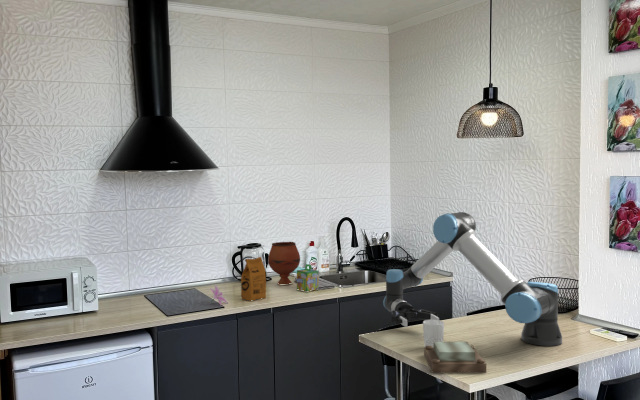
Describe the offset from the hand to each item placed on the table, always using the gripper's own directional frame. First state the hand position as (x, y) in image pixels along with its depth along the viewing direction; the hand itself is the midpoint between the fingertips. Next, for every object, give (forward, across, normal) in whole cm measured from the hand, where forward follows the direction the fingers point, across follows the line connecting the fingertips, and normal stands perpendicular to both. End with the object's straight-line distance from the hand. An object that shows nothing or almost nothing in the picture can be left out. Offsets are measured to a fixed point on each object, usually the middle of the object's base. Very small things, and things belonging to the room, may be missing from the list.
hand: (422, 322), depth 230 cm
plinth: (+28, +1, -7) cm, 29 cm away
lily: (-87, +75, -9) cm, 115 cm away
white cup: (+10, 0, -7) cm, 12 cm away
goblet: (-130, +32, -9) cm, 134 cm away
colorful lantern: (-108, +23, -8) cm, 111 cm away
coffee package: (-95, +56, -9) cm, 110 cm away
